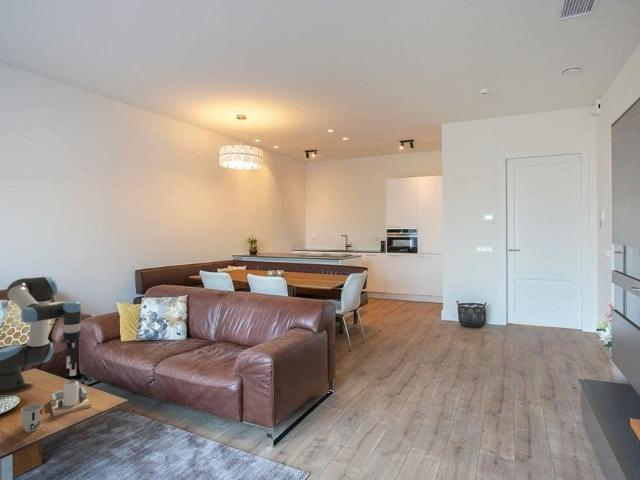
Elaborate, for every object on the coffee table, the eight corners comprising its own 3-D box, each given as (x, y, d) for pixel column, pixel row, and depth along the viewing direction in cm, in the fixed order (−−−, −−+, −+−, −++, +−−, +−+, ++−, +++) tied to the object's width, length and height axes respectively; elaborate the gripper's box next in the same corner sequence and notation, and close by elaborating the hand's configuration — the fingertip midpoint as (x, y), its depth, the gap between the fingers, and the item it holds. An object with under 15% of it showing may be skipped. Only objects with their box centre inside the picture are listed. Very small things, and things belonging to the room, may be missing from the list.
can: (75, 400, 201) (76, 378, 201) (80, 403, 197) (80, 381, 197) (61, 404, 196) (61, 381, 196) (65, 408, 192) (66, 384, 192)
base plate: (49, 401, 202) (49, 393, 202) (84, 394, 212) (84, 386, 212) (53, 415, 187) (53, 406, 187) (90, 407, 197) (90, 398, 197)
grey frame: (51, 398, 202) (51, 392, 202) (83, 391, 212) (83, 386, 212) (52, 405, 194) (53, 399, 194) (86, 398, 204) (86, 392, 203)
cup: (30, 434, 169) (30, 412, 169) (15, 432, 171) (16, 410, 171) (46, 425, 177) (47, 404, 177) (32, 423, 179) (33, 402, 179)
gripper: (60, 327, 204) (59, 366, 204) (66, 337, 185) (65, 380, 185) (76, 325, 209) (76, 363, 209) (83, 335, 189) (83, 377, 190)
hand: (71, 371), depth 197 cm, fingers open, 13 cm apart
